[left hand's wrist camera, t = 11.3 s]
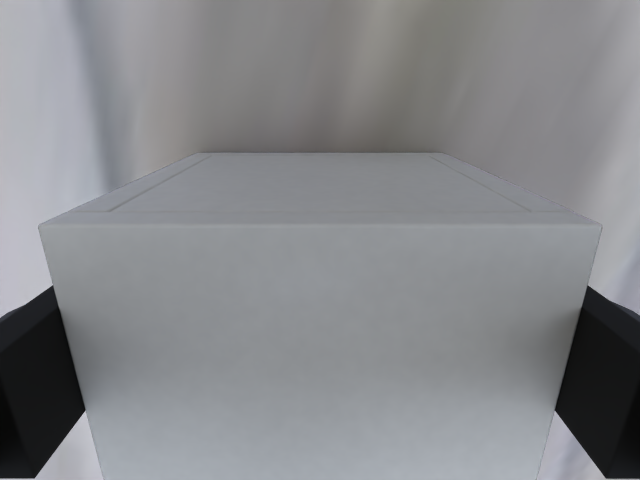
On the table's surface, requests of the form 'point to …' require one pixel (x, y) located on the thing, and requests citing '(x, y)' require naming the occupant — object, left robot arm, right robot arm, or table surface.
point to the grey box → (320, 318)
